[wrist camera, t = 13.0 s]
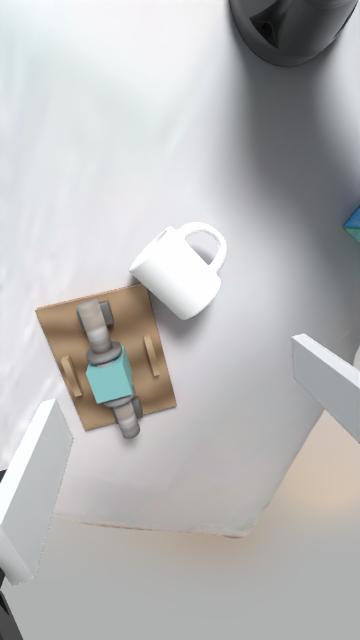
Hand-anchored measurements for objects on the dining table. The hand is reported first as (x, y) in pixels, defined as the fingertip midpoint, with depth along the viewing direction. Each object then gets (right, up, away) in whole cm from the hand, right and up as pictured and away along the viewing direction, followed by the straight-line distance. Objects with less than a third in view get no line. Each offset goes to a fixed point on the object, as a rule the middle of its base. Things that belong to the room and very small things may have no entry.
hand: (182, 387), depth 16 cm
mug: (0, +13, +27) cm, 29 cm away
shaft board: (-11, -3, +30) cm, 32 cm away
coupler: (-11, -3, +29) cm, 31 cm away
